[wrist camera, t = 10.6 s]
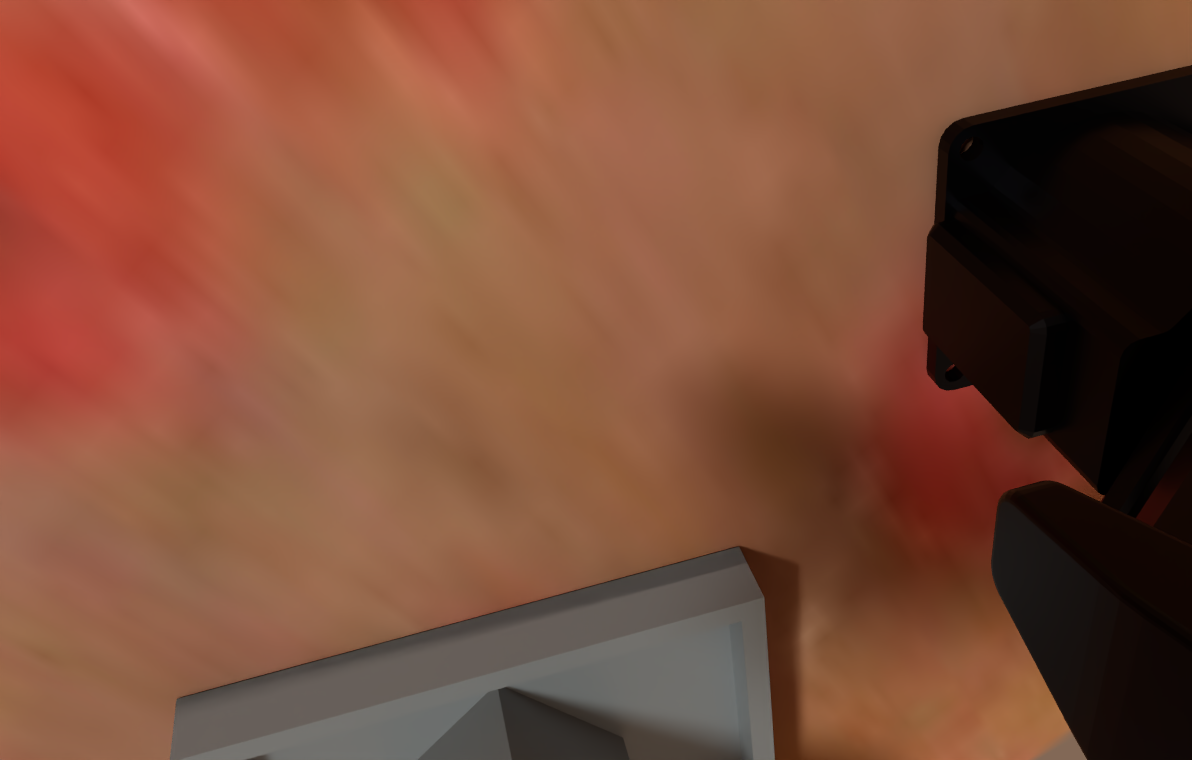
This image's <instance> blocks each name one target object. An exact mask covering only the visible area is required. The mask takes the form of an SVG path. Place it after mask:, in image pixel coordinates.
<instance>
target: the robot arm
mask: <svg viewBox="0 0 1192 760" xmlns="http://www.w3.org/2000/svg"><path fill="white" fill-rule="evenodd" d="M971 137H973V142H972V145H971V146H970V147H969V149H968V150H967V151H965V152H963V153H960V149H961V145H962V144H963V143H964V142H965V141H966V140H967V139H969V138H971ZM923 331H924V332H925V334H926V335H927V336H928V351H927V373H928V375H929V376H930V378H931V379H932V380H933V381H934V382H935V383H936V384H937V386H938V387H939V388H940V389H943V390H955V389H959V388H963V387H967V386H970V385H974V386H975V388H976V389H977V390H978V391H979V392H980V393H981V394H982V395H983V396H984V397H985V398H986V399H987V400H988V402H989V403H990V404H991V405H992V406H993V407H994V408H995V409H996V410H997V411H998V412H999V413H1000V414H1001V416H1002V417H1003V418H1004V419H1005V420H1006V421H1007V422H1008V423H1009V424H1010V425H1011V426H1012V427H1013V428H1014V430H1016V431H1017V432H1019V433H1020V434H1022V435H1023V436H1025V437H1026V438H1028V439H1029V438H1033V437H1036V436H1040V435H1044V436H1045V438H1046V439H1047V440H1048V441H1049V442H1050V443H1051V444H1052V445H1053V446H1054V447H1055V448H1056V449H1057V450H1058V451H1059V452H1060V453H1061V454H1062V455H1063V456H1064V457H1065V458H1066V459H1067V460H1068V462H1069V463H1070V464H1071V465H1072V466H1073V467H1074V468H1075V469H1076V470H1077V471H1078V472H1079V473H1080V474H1081V475H1082V476H1083V477H1084V478H1085V479H1086V480H1087V481H1088V482H1089V483H1090V484H1091V486H1092V487H1093V488H1094V489H1095V490H1096V491H1097V492H1098V493H1100V494H1102V495H1105V496H1104V497H1103V499H1102V501H1101V502H1100V501H1097V500H1095V499H1093V498H1091V497H1089V496H1087V495H1085V494H1083V493H1080V492H1078V491H1076V490H1074V489H1072V488H1070V487H1068V486H1066V485H1063V484H1061V483H1058V482H1054V481H1041V482H1037V483H1033V484H1030V485H1026V486H1022V487H1019V488H1015V489H1011V490H1008V491H1007V492H1005V493H1003V495H1002V496H1001V498H1000V499H999V501H998V506H997V513H996V522H995V531H994V541H993V550H992V559H991V568H992V575H993V579H994V582H995V585H996V588H997V590H998V593H999V595H1000V597H1001V599H1002V600H1003V602H1004V604H1005V606H1006V608H1007V610H1008V612H1009V614H1010V616H1011V618H1012V619H1013V621H1014V623H1015V625H1016V627H1017V629H1018V631H1019V633H1020V635H1021V637H1022V639H1023V640H1024V642H1025V644H1026V646H1027V648H1028V650H1029V652H1030V654H1031V656H1032V658H1033V660H1034V661H1035V663H1036V665H1037V667H1038V669H1039V671H1040V673H1041V675H1042V677H1043V679H1044V680H1045V682H1046V684H1047V686H1048V688H1049V690H1050V692H1051V694H1052V696H1053V698H1054V700H1055V701H1056V703H1057V705H1058V707H1059V709H1060V711H1061V713H1062V715H1063V717H1064V719H1065V720H1066V722H1067V724H1068V726H1069V728H1070V730H1071V732H1072V734H1073V735H1074V737H1075V739H1076V741H1077V743H1078V744H1079V746H1080V747H1081V749H1082V751H1083V753H1084V755H1085V757H1086V758H1087V760H1192V65H1191V66H1186V67H1182V68H1178V69H1173V70H1169V71H1165V72H1160V73H1156V74H1152V75H1147V76H1143V77H1139V78H1134V79H1130V80H1126V81H1122V82H1117V83H1113V84H1109V85H1104V86H1100V87H1096V88H1091V89H1087V90H1083V91H1078V92H1074V93H1070V94H1065V95H1061V96H1057V97H1052V98H1048V99H1044V100H1039V101H1035V102H1031V103H1026V104H1022V105H1018V106H1013V107H1009V108H1005V109H1001V110H996V111H992V112H988V113H983V114H979V115H975V116H970V117H966V118H962V119H960V120H958V121H955V122H954V123H952V124H951V125H950V126H949V127H948V128H947V129H946V130H945V132H944V133H943V135H942V136H941V139H940V143H939V147H938V165H937V184H936V202H935V221H934V225H933V226H932V228H931V230H930V232H929V234H928V236H927V252H926V272H925V292H924V312H923ZM953 364H954V365H955V366H954V367H953V368H952V369H951V370H949V371H947V372H946V370H947V369H948V368H949V367H950V366H951V365H953Z"/></svg>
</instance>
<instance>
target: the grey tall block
mask: <svg viewBox="0 0 1192 760" xmlns="http://www.w3.org/2000/svg"><path fill="white" fill-rule="evenodd" d="M418 760H630V759H629V756H628V752H627V749H626V746H625V742H624V739H623V737H620V736H618V735H616V734H613V733H611V732H609V731H606V730H604V729H602V728H599V727H597V726H595V725H592V724H590V723H588V722H585V721H583V720H581V719H578V718H576V717H574V716H571V715H569V714H567V713H564V712H562V711H560V710H557V709H555V708H553V707H550V706H548V705H546V704H543V703H541V702H539V701H536V700H534V699H532V698H529V697H527V696H525V695H522V694H520V693H518V692H515V691H513V690H511V689H508V688H506V687H504V688H500V689H497V690H493V691H490V692H487V693H486V694H485V695H484V696H483V697H482V698H481V699H480V700H479V701H478V702H477V703H476V704H475V705H474V706H473V707H472V708H471V709H470V710H469V711H468V712H467V713H466V714H465V715H464V716H462V717H461V718H460V719H459V720H458V721H457V722H456V723H455V724H454V725H453V726H452V727H451V728H450V729H449V730H448V731H447V732H446V733H445V734H444V735H443V736H442V737H441V738H440V739H438V740H437V741H436V742H435V743H434V744H433V745H432V746H431V747H430V748H429V749H428V750H427V751H426V752H425V753H424V754H423V755H422V756H421V757H420V758H419V759H418Z"/></svg>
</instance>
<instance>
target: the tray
mask: <svg viewBox="0 0 1192 760" xmlns="http://www.w3.org/2000/svg"><path fill="white" fill-rule="evenodd" d="M504 687H506V688H508V689H511V690H513V691H515V692H518V693H520V694H522V695H525V696H527V697H529V698H532V699H534V700H536V701H539V702H541V703H543V704H546V705H548V706H550V707H553V708H555V709H557V710H560V711H562V712H564V713H567V714H569V715H571V716H574V717H576V718H578V719H581V720H583V721H585V722H588V723H590V724H592V725H595V726H597V727H599V728H602V729H604V730H606V731H609V732H611V733H613V734H616V735H618V736H620V737H623V739H624V742H625V746H626V749H627V752H628V756H629V759H630V760H775V754H774V739H773V724H772V708H771V693H770V677H769V662H768V647H767V631H766V616H765V600H764V596H763V594H762V592H761V590H760V588H759V586H758V584H757V582H756V580H755V578H754V576H753V574H752V572H751V570H750V568H749V566H748V564H747V562H746V560H745V558H744V556H743V554H742V552H741V550H740V548H739V547H735V548H732V549H728V550H724V551H721V552H717V553H713V554H709V555H706V556H702V557H698V558H695V559H691V560H687V561H684V562H680V563H676V564H673V565H669V566H665V567H662V568H658V569H654V570H650V571H647V572H643V573H639V574H636V575H632V576H628V577H625V578H621V579H617V580H614V581H610V582H606V583H603V584H599V585H595V586H591V587H588V588H584V589H580V590H577V591H573V592H569V593H566V594H562V595H558V596H555V597H551V598H547V599H544V600H540V601H536V602H532V603H529V604H525V605H521V606H518V607H514V608H510V609H507V610H503V611H499V612H496V613H492V614H488V615H485V616H481V617H477V618H473V619H470V620H466V621H462V622H459V623H455V624H451V625H448V626H444V627H440V628H437V629H433V630H429V631H426V632H422V633H418V634H414V635H411V636H407V637H403V638H400V639H396V640H392V641H389V642H385V643H381V644H378V645H374V646H370V647H367V648H363V649H359V650H355V651H352V652H348V653H344V654H341V655H337V656H333V657H330V658H326V659H322V660H319V661H315V662H311V663H308V664H304V665H300V666H296V667H293V668H289V669H285V670H282V671H278V672H274V673H271V674H267V675H263V676H260V677H256V678H252V679H249V680H245V681H241V682H238V683H234V684H230V685H226V686H223V687H219V688H215V689H212V690H208V691H204V692H201V693H197V694H193V695H190V696H186V697H182V698H179V699H177V701H176V710H175V719H174V727H173V736H172V745H171V754H170V760H418V759H419V758H420V757H421V756H422V755H423V754H424V753H425V752H426V751H427V750H428V749H429V748H430V747H431V746H432V745H433V744H434V743H435V742H436V741H437V740H438V739H440V738H441V737H442V736H443V735H444V734H445V733H446V732H447V731H448V730H449V729H450V728H451V727H452V726H453V725H454V724H455V723H456V722H457V721H458V720H459V719H460V718H461V717H462V716H464V715H465V714H466V713H467V712H468V711H469V710H470V709H471V708H472V707H473V706H474V705H475V704H476V703H477V702H478V701H479V700H480V699H481V698H482V697H483V696H484V695H485V694H486V693H487V692H490V691H493V690H497V689H500V688H504Z"/></svg>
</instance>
